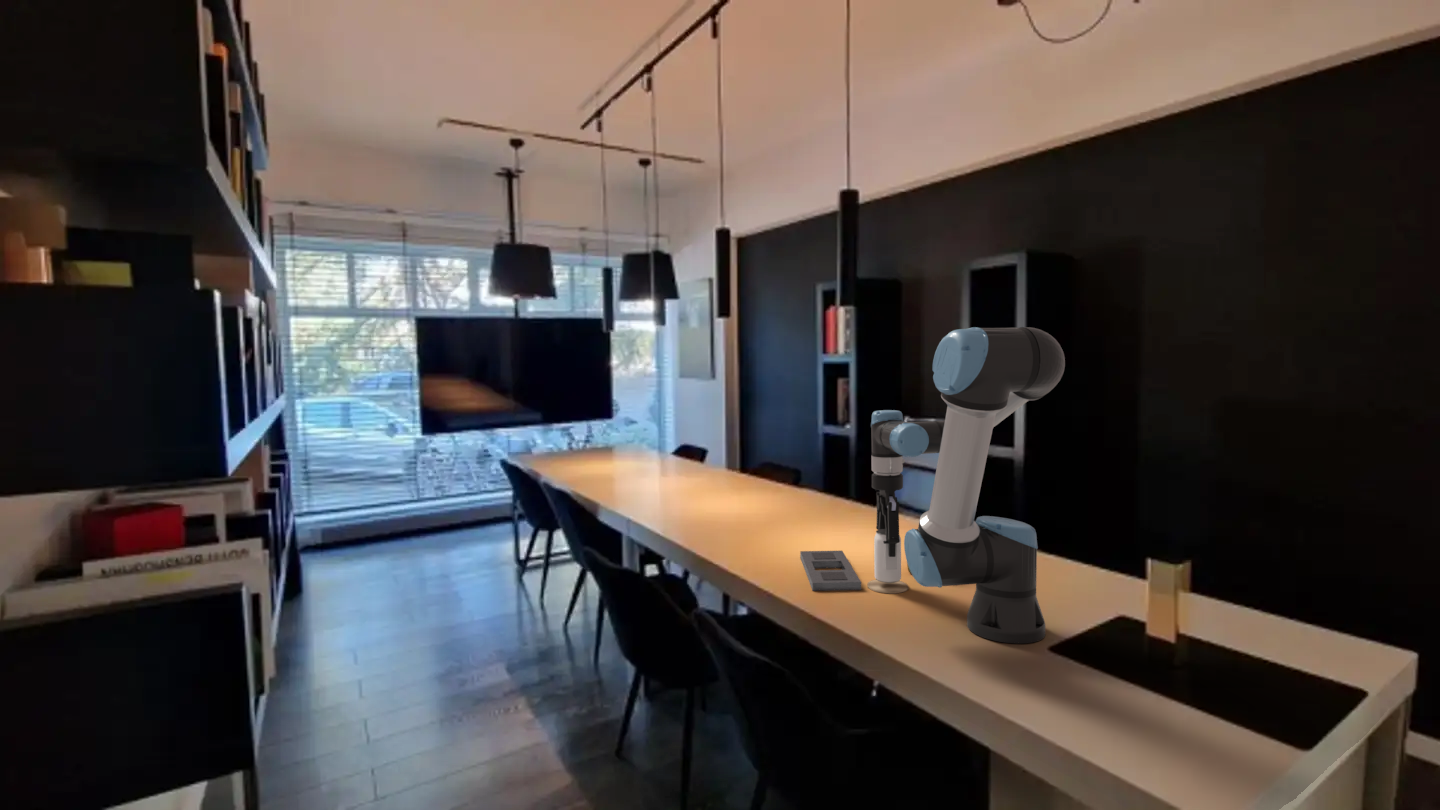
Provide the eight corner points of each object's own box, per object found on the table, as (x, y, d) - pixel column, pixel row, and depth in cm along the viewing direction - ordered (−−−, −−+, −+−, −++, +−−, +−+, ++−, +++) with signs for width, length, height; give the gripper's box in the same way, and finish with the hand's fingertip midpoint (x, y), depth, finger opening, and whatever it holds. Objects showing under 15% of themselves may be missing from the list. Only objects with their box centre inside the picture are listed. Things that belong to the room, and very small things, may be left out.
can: (871, 581, 171) (871, 533, 170) (878, 573, 177) (878, 527, 176) (897, 584, 168) (897, 536, 167) (903, 577, 174) (903, 530, 173)
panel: (861, 590, 171) (861, 581, 170) (812, 590, 171) (812, 582, 171) (842, 557, 198) (842, 550, 198) (800, 558, 199) (800, 550, 198)
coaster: (913, 593, 167) (913, 591, 167) (871, 594, 168) (871, 592, 167) (902, 580, 177) (902, 578, 177) (863, 580, 177) (863, 579, 177)
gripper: (913, 479, 161) (913, 576, 162) (892, 466, 180) (893, 553, 182) (880, 480, 161) (881, 577, 162) (864, 466, 180) (864, 553, 182)
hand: (887, 564), depth 172 cm, fingers closed on can, 6 cm apart
